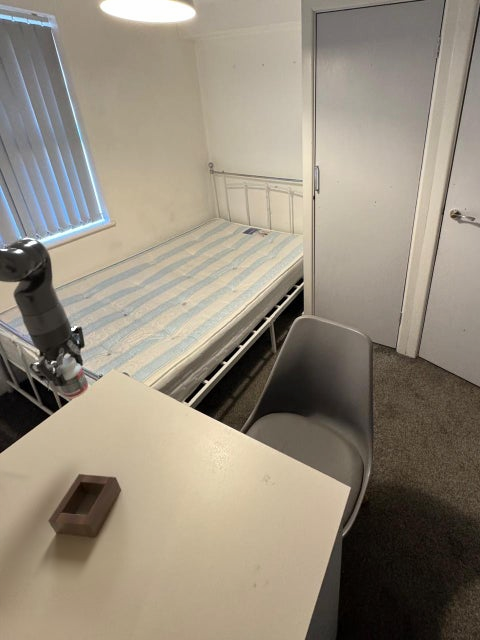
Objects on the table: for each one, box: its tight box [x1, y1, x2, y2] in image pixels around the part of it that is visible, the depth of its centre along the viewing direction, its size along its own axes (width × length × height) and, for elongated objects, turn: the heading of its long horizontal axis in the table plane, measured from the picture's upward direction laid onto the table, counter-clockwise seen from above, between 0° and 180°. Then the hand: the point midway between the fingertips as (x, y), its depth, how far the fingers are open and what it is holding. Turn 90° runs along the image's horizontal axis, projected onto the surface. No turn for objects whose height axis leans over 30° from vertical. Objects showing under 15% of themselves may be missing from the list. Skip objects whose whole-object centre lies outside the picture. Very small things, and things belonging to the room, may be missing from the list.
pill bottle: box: [60, 356, 89, 400], centre depth 81 cm, size 5×5×10 cm
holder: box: [48, 473, 122, 539], centre depth 72 cm, size 9×9×5 cm
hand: (70, 375), depth 81 cm, fingers closed on pill bottle, 5 cm apart
